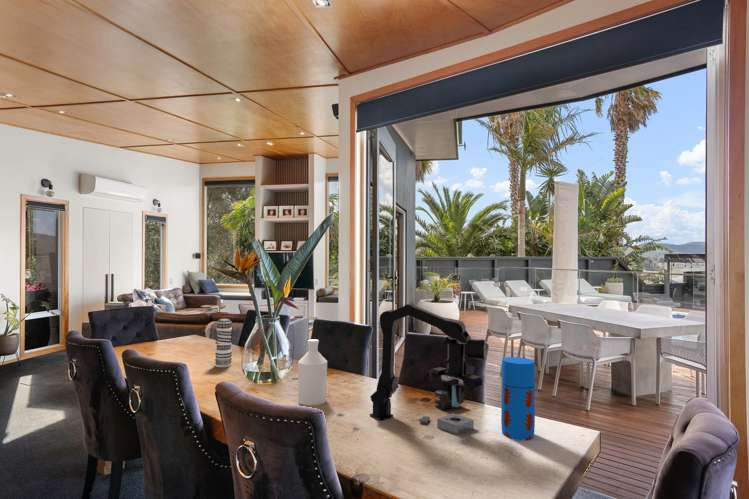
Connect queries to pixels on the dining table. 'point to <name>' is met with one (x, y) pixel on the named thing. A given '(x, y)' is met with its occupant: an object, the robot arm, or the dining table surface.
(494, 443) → the dining table surface
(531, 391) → the thermos
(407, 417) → the dining table surface
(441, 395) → the end cap
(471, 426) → the socket block
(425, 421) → the charcoal rectangular brick
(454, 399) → the round bit
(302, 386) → the bottle
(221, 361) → the decorative candle
